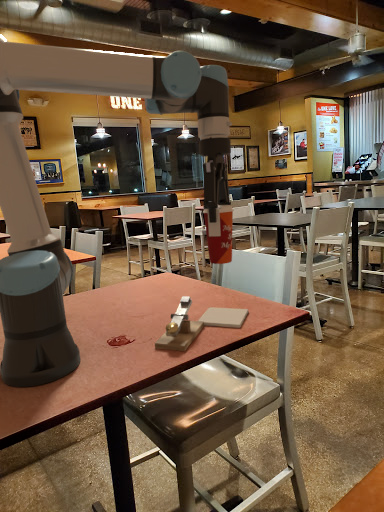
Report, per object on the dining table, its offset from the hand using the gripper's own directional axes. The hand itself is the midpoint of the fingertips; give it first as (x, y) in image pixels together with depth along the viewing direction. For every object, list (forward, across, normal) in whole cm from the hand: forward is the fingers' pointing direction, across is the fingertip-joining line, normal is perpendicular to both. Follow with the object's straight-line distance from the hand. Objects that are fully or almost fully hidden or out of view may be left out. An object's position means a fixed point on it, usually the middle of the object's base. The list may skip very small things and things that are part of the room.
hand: (219, 233), depth 91 cm
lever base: (+22, -13, +7) cm, 27 cm away
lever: (+17, -13, +7) cm, 23 cm away
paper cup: (+7, 0, 0) cm, 7 cm away
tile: (+22, 0, 0) cm, 22 cm away
